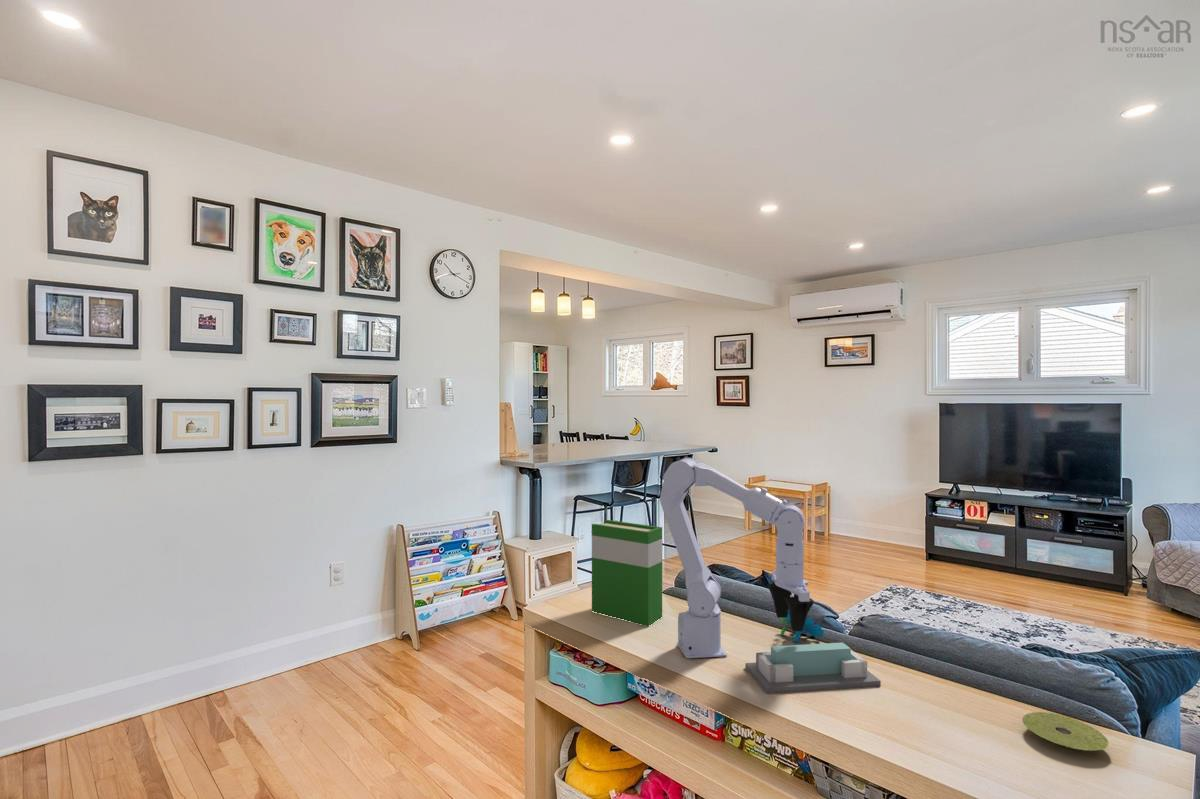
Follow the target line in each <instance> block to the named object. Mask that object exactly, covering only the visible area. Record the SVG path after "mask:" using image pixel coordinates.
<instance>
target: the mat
mask: <svg viewBox="0 0 1200 799" xmlns="http://www.w3.org/2000/svg"><path fill="white" fill-rule="evenodd" d="M1021 721H1022V723H1023V724H1024V726H1025V727H1026V728H1027V729H1028V730H1030V731H1031V733H1034V734H1036V735H1037V736H1039V737H1040V738H1043V739H1046V740H1047V741H1049V742H1052V743H1054V744H1057V745H1060V746H1064V747H1066V748H1071V749H1075V750H1082V751H1101V750H1104V749H1105V750H1106V749H1107V748H1108V746H1109V740H1108V739H1107V737H1106V735H1104V734H1103V733H1102V732H1100V731H1099V730H1098V729H1096V728H1095V727H1093V726H1091V725H1089V724H1087V723H1084V722H1083V721H1080V720H1077V719H1075V718H1072V717H1068V716H1065V715H1061V714H1057V713H1052V712H1043V711H1034V712H1029V713H1026V714H1024V715H1023V716H1022V720H1021Z"/></svg>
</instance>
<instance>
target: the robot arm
mask: <svg viewBox="0 0 1200 799" xmlns="http://www.w3.org/2000/svg"><path fill="white" fill-rule="evenodd" d="M662 477H663V480H662V481H663V482H662V486H661V487H662V488H661V492H660V496H659V497H660V498H659V502H660V505H661V508H662V511H663V513H664V517H665V520H666V522H667V525H668V529H669V532H670V533H671V537H672V540H673V542H674V545H675V548H676V551H677V553H678V557H679V560H680V563H681V566H682V568H683V571H684V574H685V588H686V592H687V600H686V601H687V606H688V609H687V610H686V611H681V612H679V613H678V618H677V638H678V639H677V644H676V645H677V646H678V647H679V649H680V651H681V653H683V656H684V657H685V658H686V659H701V658H715V657H716V658H718V657H719V658H720V657H721V658H722V657H727V656H728V654H727V652H726V651H725V649H724V648H723V647H722V645H721V643H722V642H721V638H722V637H721V634H722V633H721V630H722V629H721V628H722V627H721V626H722V624H721V621H722V619H721V617H722V616H721V613H722V611H721V608H720V606H719V604H718V601H719V600H720V599H721V596H722V588H721V585H720V583H719V582H718V581H717V580H716V579H715V578H714V576H713V573H712V571H711V570H710V569H709V567H708V566H707V565H706V562H705V560H704V556H703V554H702V551H701V549H700V546H699V543H698V540H697V538H696V537H697V536H696V535H695V531H694V528H693V525H692V523H691V521H690V520H691V519H690V518H689V515H688V511H687V509H686V506H685V503H684V500H685V498H686V496H687V494H688V493H689V490H690V489H691V487H692V486H694V487H705V486H706V487H712V488H714V489H716V490H718V491H720V492H722V493H724V494H726V495H728V496H730V497H732V498H733V499H736V500H738V501H739V502H741V503H742V505H743V509H744V510H745V511H746V512H749V513H751V514H752V515H754V516H756V518H757V517H758V518H759V519H761V520H763V521H765V522H766V523H768V524H770V525H775V528H776V530H777V536H776V537H777V538H776V539H775V540H776V542H775V552H776V553H775V555H776V556H775V571H771V581H772V582H773V583H767V584H766V585H767V588H768V590H769V592H770V594H771V598H772V602H773V605H774V610H775V613H776V617H777V618H778V619H779V618H780V619H781V618H784V617H787V615H788V610H789V613H790V622H791V628H792V629H791V630H792V631H793V632H797V631H803V627H804V624H805V620H806V619H807V617H808V614H809V612H810V610H811V608H812V607H813V605H814V602H815V601H814V600H813V599H812V597H810V591H808V589H807V586H809V581H807V580H806V579H804V565H805V564H804V560H805V558H804V556H805V555H804V554H805V553H804V552H805V551H804V550H805V546H804V545H805V544H804V532H803V530H804V528H805V515H804V512H803V511H802V509H800V508H799V507H798V506H797V505H796V504H795V503H788V502H789V501H788V500H787V499H783V500H782V499H780V498H778V497H776V496H774V495H772V494H770V493H768V489H767V488H765V487H762V488H759V487H757V486H755V487H753V488H747V487H746V486H744V485H742V484H741V483H739V482H737V481H736V480H734V479H732V478H730V477H729V476H727V475H726V474H724V473H723V472H720V471H719V470H717V469H715V468H714V467H711V466H710V465H708V464H706V463H703V462H701V461H698V460H696V459H695V458H691V457H684V458H681V459H680V460H677V461H674V462H672V463H671V464H670V465H669V466H668V468H666V470H665V472H664V474H663V476H662ZM792 595H793V596H792Z"/></svg>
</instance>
